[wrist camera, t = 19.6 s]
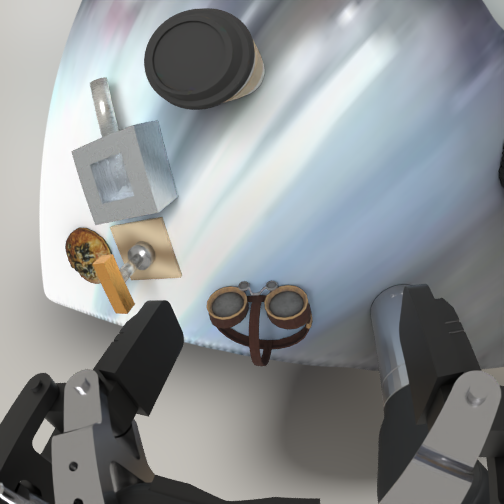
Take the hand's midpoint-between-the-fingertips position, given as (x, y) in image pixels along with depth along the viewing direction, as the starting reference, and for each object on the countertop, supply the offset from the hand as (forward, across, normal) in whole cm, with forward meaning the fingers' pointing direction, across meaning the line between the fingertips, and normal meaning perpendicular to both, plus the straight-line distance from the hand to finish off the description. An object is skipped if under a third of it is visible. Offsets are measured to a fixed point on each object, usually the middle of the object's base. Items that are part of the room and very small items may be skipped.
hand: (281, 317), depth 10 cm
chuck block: (+28, +23, -7) cm, 37 cm away
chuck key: (+28, +26, +10) cm, 39 cm away
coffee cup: (+28, +6, -12) cm, 31 cm away
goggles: (+29, +9, +23) cm, 38 cm away
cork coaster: (+28, +26, +10) cm, 40 cm away
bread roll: (+29, +38, +10) cm, 49 cm away
